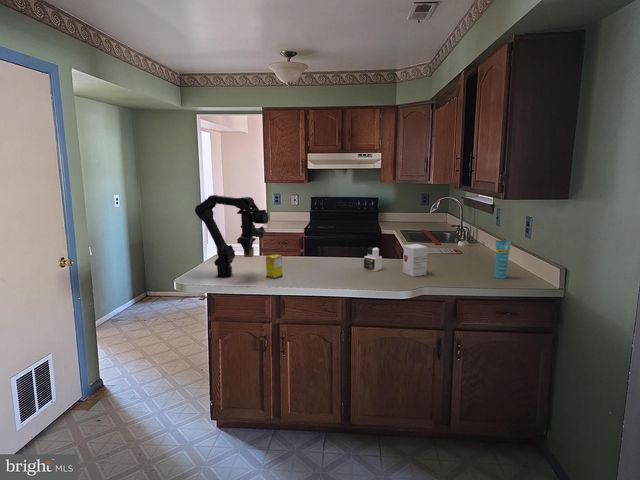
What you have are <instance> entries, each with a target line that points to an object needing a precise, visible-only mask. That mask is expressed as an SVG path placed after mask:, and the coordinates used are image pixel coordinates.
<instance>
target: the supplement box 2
mask: <svg viewBox="0 0 640 480" xmlns="http://www.w3.org/2000/svg"><path fill="white" fill-rule="evenodd" d="M428 250H429V247H428V246H425V245H423V244H419V243H413V244H404V245H403V256H402V257H403V259H402V260H403V261H402V273H403V274H406V275H408V276H410V277H412V278H413V277H419V276H426V275H427V264H428Z"/></svg>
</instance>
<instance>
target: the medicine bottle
mask: <svg viewBox="0 0 640 480" xmlns="http://www.w3.org/2000/svg"><path fill="white" fill-rule="evenodd" d="M379 254H380V248H378V247H376V246H370V247H367V255H365V256H363V270H366V271H371V272H377V271H380V270H382V269H383V256H381V255H379Z"/></svg>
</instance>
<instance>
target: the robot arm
mask: <svg viewBox="0 0 640 480" xmlns="http://www.w3.org/2000/svg"><path fill="white" fill-rule="evenodd" d="M216 205H224V206H232V207H234V208H237V209H239V210H237V212H236V213H237V214H238V215H240V216H241V218H240V219H241V225H240V229H241V234H240V236H239V237H238V238H237V239H236V241H237V244H239V245H241V248H242V249H243V252H244V251H245V253H246V255H249V250H250V247H253V244H254V242H255V241H256V240H257V238H259V239H263V238H264V237H265V234H266V232H267V231H266V230H265V227H263V226H261V227H259V228H258V227H256V224H259V225H266V224H268V222H269V219H270V218H269V214H268V212H267V209H259V207H258V206H257V204H256V203H255V200H254V198H253V197H250V196H243V197H233V196H223V195H218V194H212V195H209V196H208V197H206V199H205V200H203V201H202V202H201V203H200V204H198V205H196V206H195V208H194V212H195V215H196V216H197V217H198V218H199V220H201V221H202V222H203V223H204V225H205V226H206V229H207V230H208V233H209V234H210V237H211V238H212V240H213V243H214V244H215V246H216V255H217V258H216V259H215V260H214V265H215V267H217V268H216V269H217V270H216V271H217V275H216V278H231V276H232V275H233V267H232V265H231V264H232V263H233V261H234V260H235V257H236V253H235V252H236V251H235V249H234V247H233V245H232V244H230V245H229V244H227V242H226V241H225V239H224V237H223V234H222V232H221V231H220V229H219V227H218V224H217V223H216V221H215V219H214V218H215V217H214V208H215V207H216ZM255 237H256V238H255Z"/></svg>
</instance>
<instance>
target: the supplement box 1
mask: <svg viewBox="0 0 640 480" xmlns="http://www.w3.org/2000/svg"><path fill="white" fill-rule="evenodd" d="M265 263H266V265H265V267H266V270H265V271H266V277H267V278H270V279H277V278H281V277H283V256H282V255H281V254H275V253H273V254H270V255H266V256H265Z"/></svg>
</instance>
